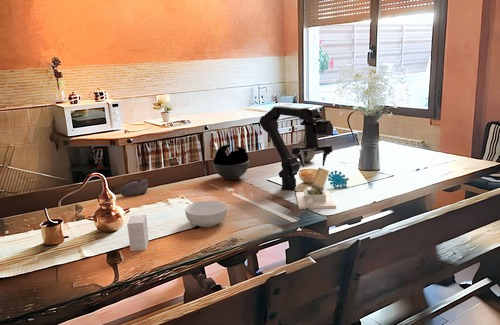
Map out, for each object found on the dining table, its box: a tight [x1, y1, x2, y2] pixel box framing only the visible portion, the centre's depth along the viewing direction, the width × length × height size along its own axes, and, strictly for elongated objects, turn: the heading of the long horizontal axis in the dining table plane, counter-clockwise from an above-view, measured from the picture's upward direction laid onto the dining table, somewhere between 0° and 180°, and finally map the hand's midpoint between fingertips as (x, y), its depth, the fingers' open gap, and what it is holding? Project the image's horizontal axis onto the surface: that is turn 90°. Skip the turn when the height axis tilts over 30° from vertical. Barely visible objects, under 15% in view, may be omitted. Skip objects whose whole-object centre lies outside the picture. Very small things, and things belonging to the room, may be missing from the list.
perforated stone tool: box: [119, 178, 149, 197], centre depth 217 cm, size 15×5×7 cm, turn 117°
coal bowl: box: [212, 144, 250, 180], centre depth 235 cm, size 20×20×19 cm
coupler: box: [309, 167, 330, 195], centre depth 196 cm, size 6×6×13 cm
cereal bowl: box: [184, 200, 228, 228], centre depth 175 cm, size 17×17×7 cm
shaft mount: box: [295, 186, 337, 210], centre depth 196 cm, size 16×23×4 cm
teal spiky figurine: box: [327, 170, 350, 190], centre depth 216 cm, size 11×6×10 cm
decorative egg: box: [296, 137, 316, 163], centre depth 265 cm, size 12×12×15 cm
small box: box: [126, 214, 150, 252], centre depth 156 cm, size 8×6×10 cm
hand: (313, 166), depth 205 cm, fingers open, 9 cm apart
